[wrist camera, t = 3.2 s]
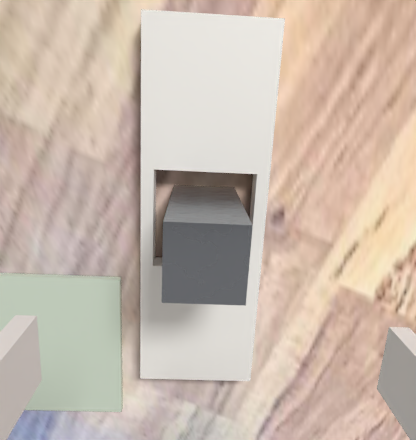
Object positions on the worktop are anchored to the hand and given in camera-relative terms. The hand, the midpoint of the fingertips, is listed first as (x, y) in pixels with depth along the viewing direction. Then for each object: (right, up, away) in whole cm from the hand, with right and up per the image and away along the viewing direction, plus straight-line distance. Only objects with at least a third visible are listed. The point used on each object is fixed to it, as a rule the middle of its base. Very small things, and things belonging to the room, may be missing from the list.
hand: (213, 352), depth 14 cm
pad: (-15, -6, +21) cm, 27 cm away
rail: (-1, +5, +18) cm, 19 cm away
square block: (-1, +5, +18) cm, 19 cm away
